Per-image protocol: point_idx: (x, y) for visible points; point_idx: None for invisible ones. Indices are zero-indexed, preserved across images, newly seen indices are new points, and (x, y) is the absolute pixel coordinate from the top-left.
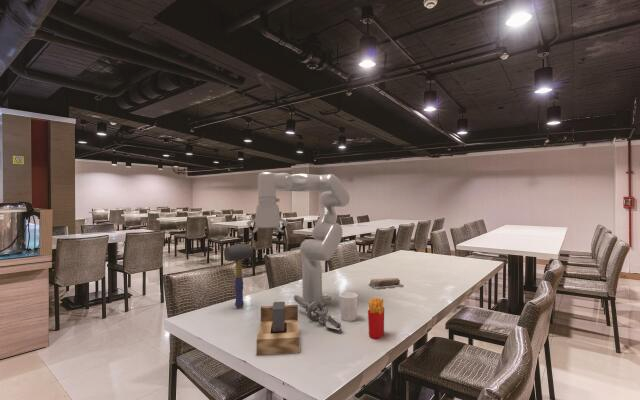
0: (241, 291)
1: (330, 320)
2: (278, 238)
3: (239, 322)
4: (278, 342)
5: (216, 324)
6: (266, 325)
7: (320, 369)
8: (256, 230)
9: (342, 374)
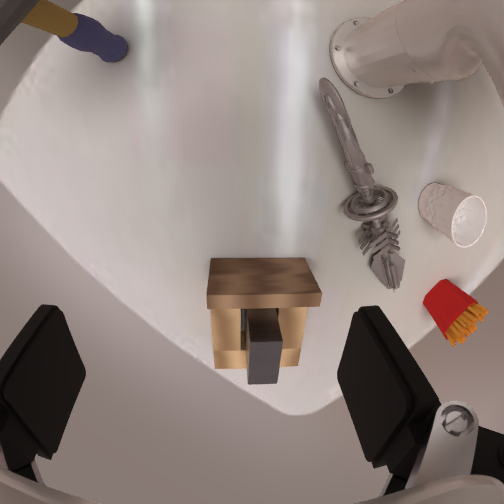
0: (102, 45)
1: (386, 268)
2: (349, 399)
3: (137, 181)
4: None
5: (82, 191)
6: (227, 312)
7: (313, 383)
8: (41, 480)
9: (336, 390)
